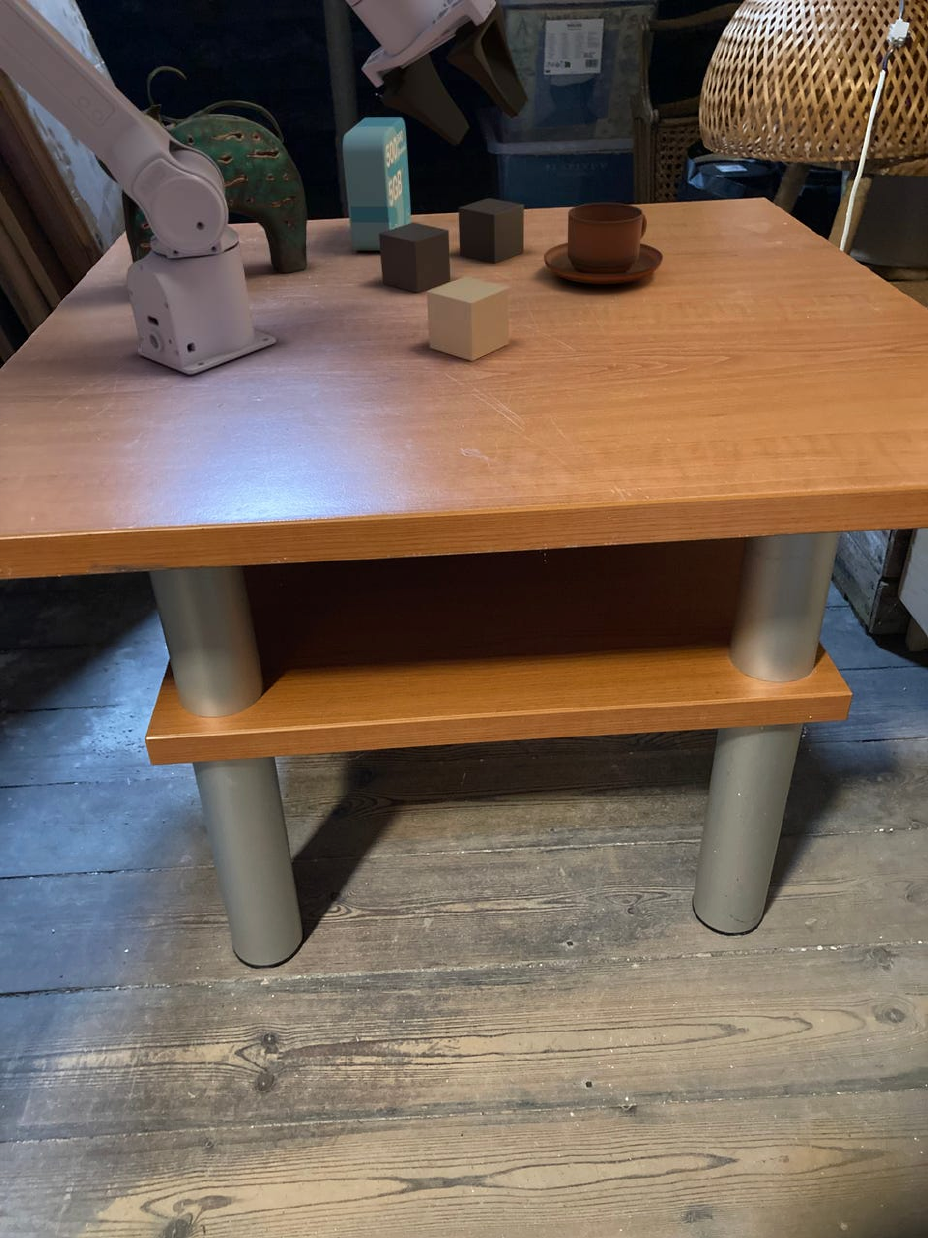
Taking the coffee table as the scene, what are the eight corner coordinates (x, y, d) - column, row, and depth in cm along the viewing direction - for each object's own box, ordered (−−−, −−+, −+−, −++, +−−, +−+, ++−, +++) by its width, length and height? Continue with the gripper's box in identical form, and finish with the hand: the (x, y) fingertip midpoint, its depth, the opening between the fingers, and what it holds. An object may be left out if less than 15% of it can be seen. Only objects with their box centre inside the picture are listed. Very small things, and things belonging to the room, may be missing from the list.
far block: (494, 263, 103) (494, 214, 100) (459, 255, 106) (458, 207, 103) (523, 252, 106) (524, 204, 103) (489, 244, 109) (488, 197, 106)
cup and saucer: (574, 251, 106) (576, 192, 102) (678, 266, 101) (684, 203, 97) (523, 283, 98) (523, 219, 94) (633, 301, 92) (638, 234, 89)
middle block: (417, 293, 96) (414, 241, 93) (382, 283, 99) (378, 233, 96) (450, 280, 99) (449, 229, 96) (415, 271, 102) (413, 221, 99)
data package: (391, 254, 107) (383, 135, 100) (352, 254, 107) (340, 135, 100) (411, 225, 116) (405, 114, 109) (375, 224, 117) (366, 114, 110)
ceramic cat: (135, 308, 95) (81, 77, 83) (118, 290, 100) (65, 70, 88) (320, 271, 103) (295, 55, 91) (296, 256, 107) (269, 49, 95)
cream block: (472, 361, 82) (470, 302, 79) (429, 348, 84) (426, 290, 81) (509, 343, 85) (509, 286, 82) (466, 331, 87) (465, 275, 84)
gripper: (460, -106, 68) (571, 58, 76) (353, -19, 79) (458, 115, 87) (413, -38, 66) (531, 122, 74) (310, 40, 78) (422, 172, 85)
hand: (489, 122), depth 80 cm, fingers open, 7 cm apart
